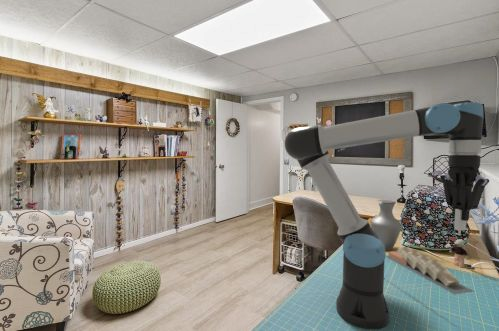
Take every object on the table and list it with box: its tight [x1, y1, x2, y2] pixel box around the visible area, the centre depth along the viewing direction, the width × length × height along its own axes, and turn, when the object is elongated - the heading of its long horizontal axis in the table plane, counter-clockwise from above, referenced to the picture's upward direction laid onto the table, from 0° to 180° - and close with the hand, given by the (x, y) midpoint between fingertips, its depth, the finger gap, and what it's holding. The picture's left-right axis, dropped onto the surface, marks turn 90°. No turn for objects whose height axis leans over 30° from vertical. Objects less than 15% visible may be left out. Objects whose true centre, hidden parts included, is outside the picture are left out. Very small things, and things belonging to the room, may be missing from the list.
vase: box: [369, 199, 403, 252], centre depth 132 cm, size 14×14×25 cm
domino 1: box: [388, 250, 410, 265], centre depth 116 cm, size 5×2×10 cm
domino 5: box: [425, 259, 461, 287], centre depth 98 cm, size 5×2×10 cm
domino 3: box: [406, 250, 428, 275], centre depth 106 cm, size 5×2×10 cm
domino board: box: [385, 255, 474, 295], centre depth 105 cm, size 9×32×1 cm, turn 14°
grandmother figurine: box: [449, 238, 470, 269], centre depth 110 cm, size 8×4×13 cm, turn 27°
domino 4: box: [415, 254, 439, 280], centre depth 102 cm, size 5×2×10 cm
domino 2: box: [396, 246, 418, 269], centre depth 111 cm, size 5×2×10 cm
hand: (459, 229), depth 79 cm, fingers closed
